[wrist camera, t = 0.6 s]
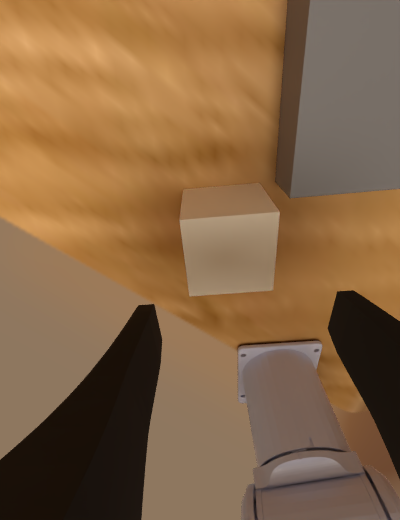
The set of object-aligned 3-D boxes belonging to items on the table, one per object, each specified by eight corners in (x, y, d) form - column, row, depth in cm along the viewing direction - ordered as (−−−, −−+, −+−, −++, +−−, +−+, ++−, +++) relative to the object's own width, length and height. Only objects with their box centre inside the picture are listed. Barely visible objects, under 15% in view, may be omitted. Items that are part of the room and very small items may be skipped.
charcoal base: (412, 167, 17) (458, 183, 14) (273, 180, 17) (289, 198, 15) (479, -30, 12) (568, -68, 9) (286, -8, 13) (314, -39, 10)
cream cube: (256, 248, 20) (272, 290, 16) (190, 253, 20) (189, 296, 16) (259, 182, 17) (280, 211, 13) (183, 188, 17) (179, 220, 13)
